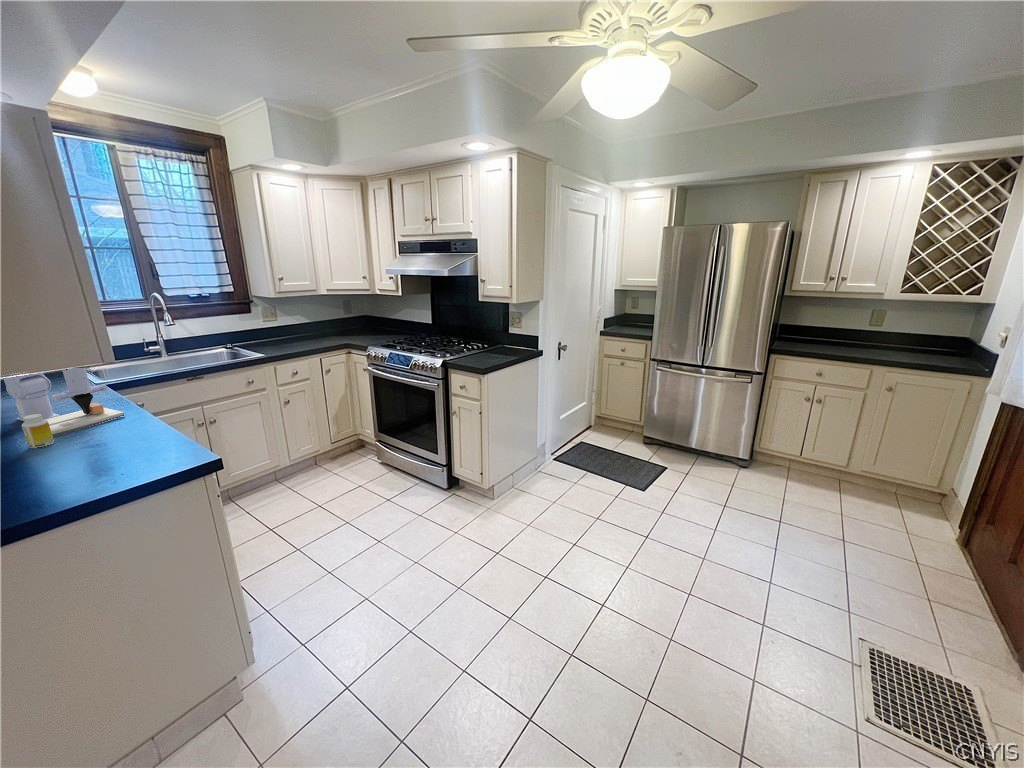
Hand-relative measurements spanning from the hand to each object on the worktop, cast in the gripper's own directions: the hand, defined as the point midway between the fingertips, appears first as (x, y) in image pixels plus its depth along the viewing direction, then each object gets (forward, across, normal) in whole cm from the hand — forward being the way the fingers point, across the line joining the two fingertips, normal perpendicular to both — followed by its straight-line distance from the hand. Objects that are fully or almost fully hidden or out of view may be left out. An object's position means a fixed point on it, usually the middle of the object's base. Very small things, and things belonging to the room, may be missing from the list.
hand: (87, 413), depth 151 cm
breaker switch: (+1, +2, 0) cm, 3 cm away
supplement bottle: (+3, -18, -13) cm, 22 cm away
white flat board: (+3, -3, 0) cm, 4 cm away
